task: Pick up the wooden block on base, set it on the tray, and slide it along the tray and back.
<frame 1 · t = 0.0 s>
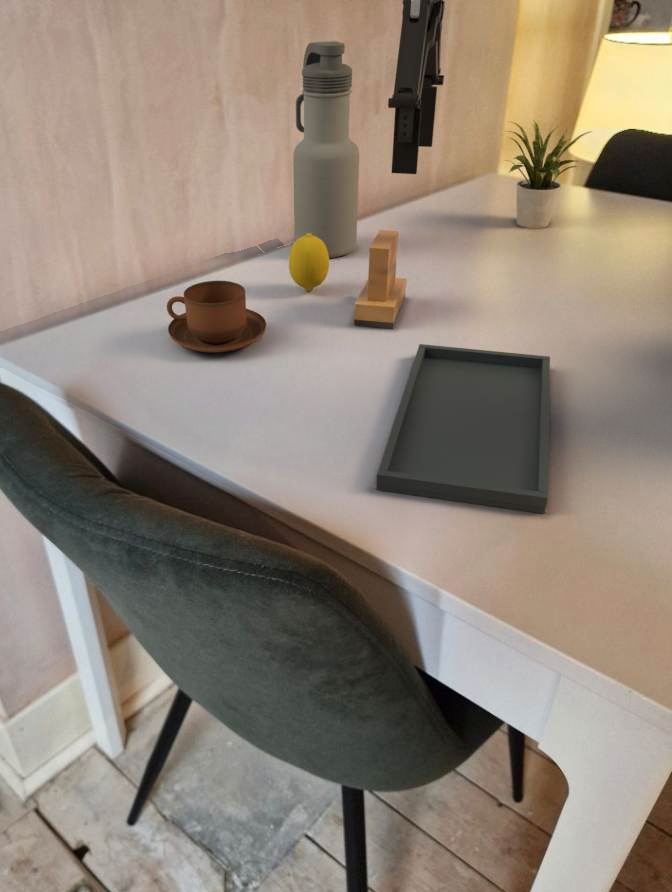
hand: (412, 159, 90), 18 cm above the table, tool pointing down, fingers open, 13 cm apart
lemon: (308, 292, 107), on the table
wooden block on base: (380, 312, 100), on the table
water bottle: (324, 249, 121), on the table
house plant: (523, 223, 129), on the table
tray: (471, 423, 77), on the table
cup and saucer: (218, 341, 95), on the table
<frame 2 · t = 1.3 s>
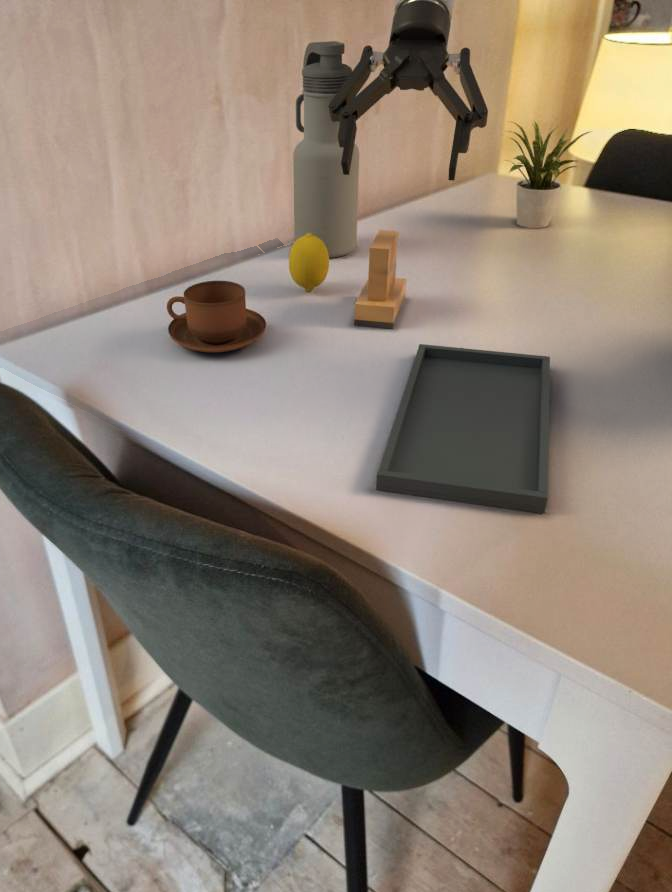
hand: (397, 172, 97), 16 cm above the table, tool tilted 45°, fingers open, 13 cm apart
nothing on the table moved.
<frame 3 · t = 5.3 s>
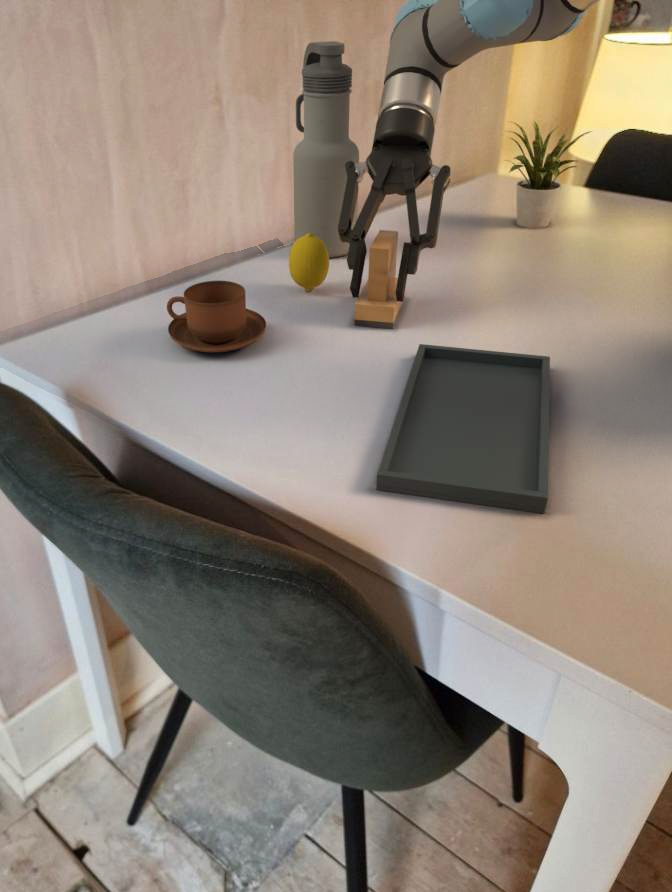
hand: (376, 294, 95), 4 cm above the table, tool tilted 45°, fingers closed on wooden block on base, 5 cm apart
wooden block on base: (380, 312, 100), on the table, touching gripper
everything else where it was.
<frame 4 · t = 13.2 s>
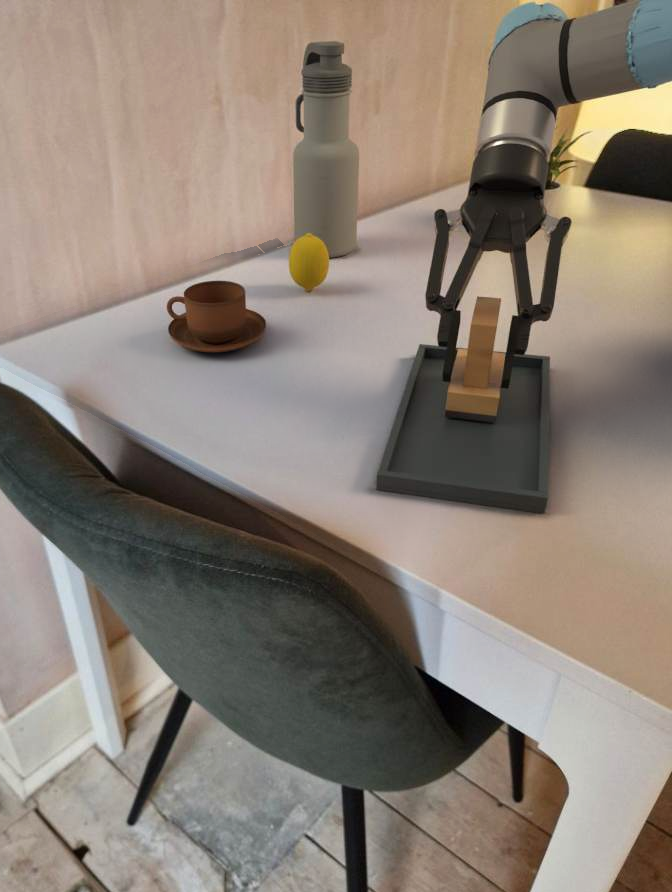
hand: (475, 380, 75), 5 cm above the table, tool tilted 45°, fingers closed on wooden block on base, 5 cm apart
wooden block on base: (474, 396, 80), point 1 cm above the table, touching gripper
everything else where it was.
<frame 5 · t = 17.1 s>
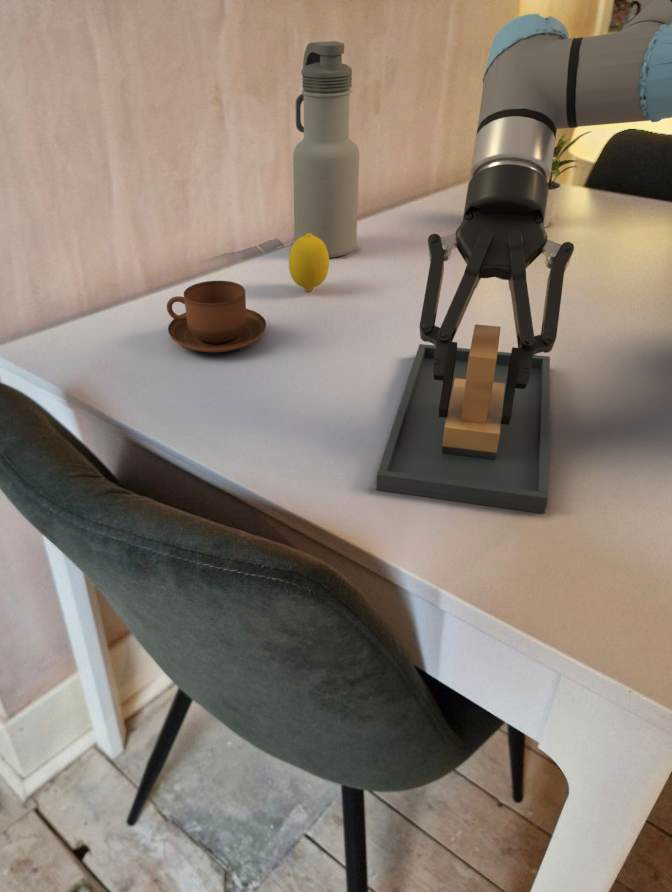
hand: (474, 416, 70), 4 cm above the table, tool tilted 45°, fingers closed on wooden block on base, 5 cm apart
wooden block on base: (472, 429, 75), point 1 cm above the table, touching gripper
everything else where it was.
when the fingers open (4 cm above the table, at t = 21.0 s): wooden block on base stays where it is, resting on tray.
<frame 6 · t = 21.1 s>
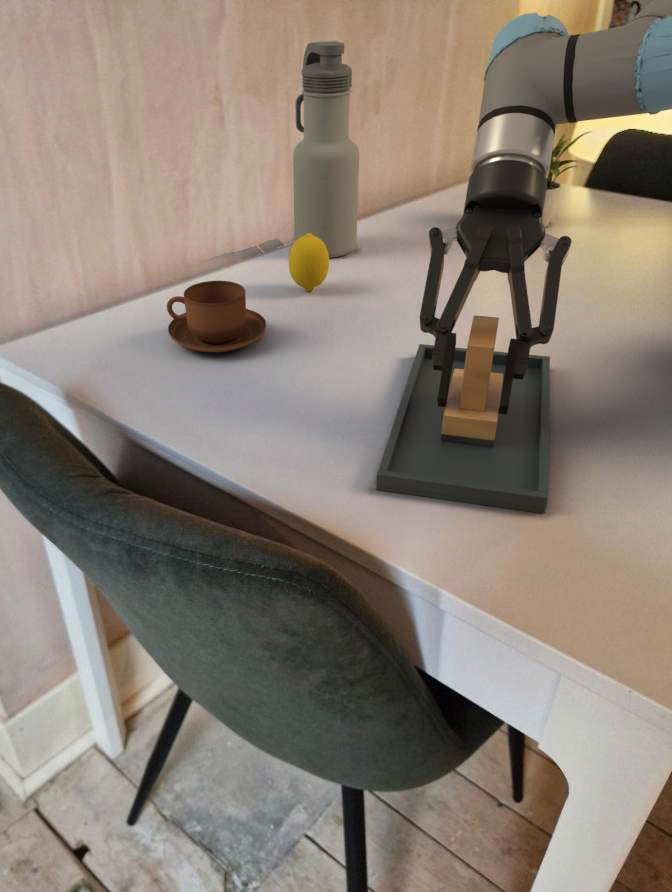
hand: (472, 405, 72), 4 cm above the table, tool tilted 45°, fingers open, 5 cm apart
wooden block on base: (471, 418, 77), resting on tray
everything else where it was.
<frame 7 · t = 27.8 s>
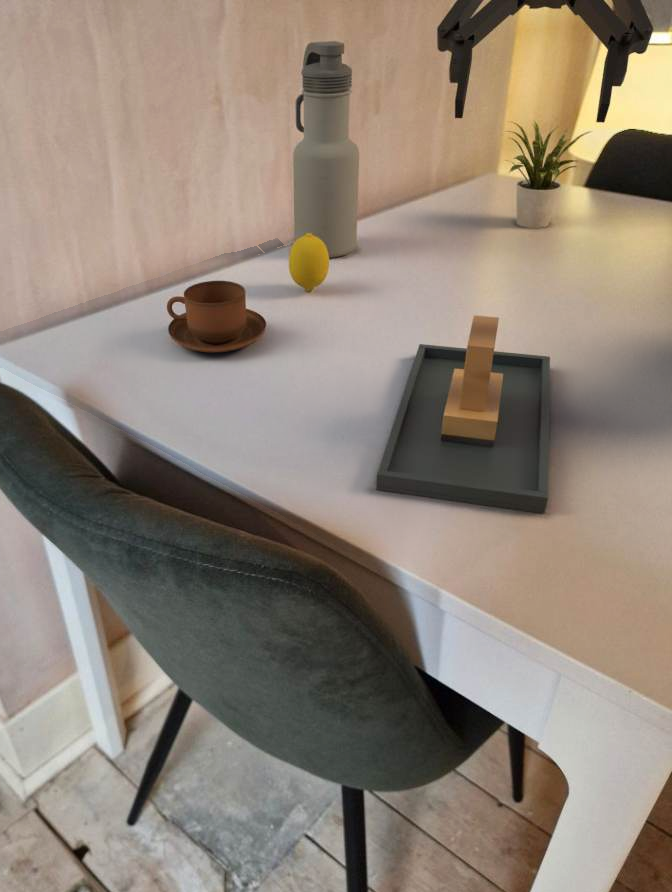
hand: (529, 111, 74), 26 cm above the table, tool tilted 45°, fingers open, 13 cm apart
nothing on the table moved.
at the end: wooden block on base inside the target area in the tray (0.1 cm from its centre), point 0.5 cm above the tray's base; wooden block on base tilted 0°; the gripper is holding nothing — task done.
